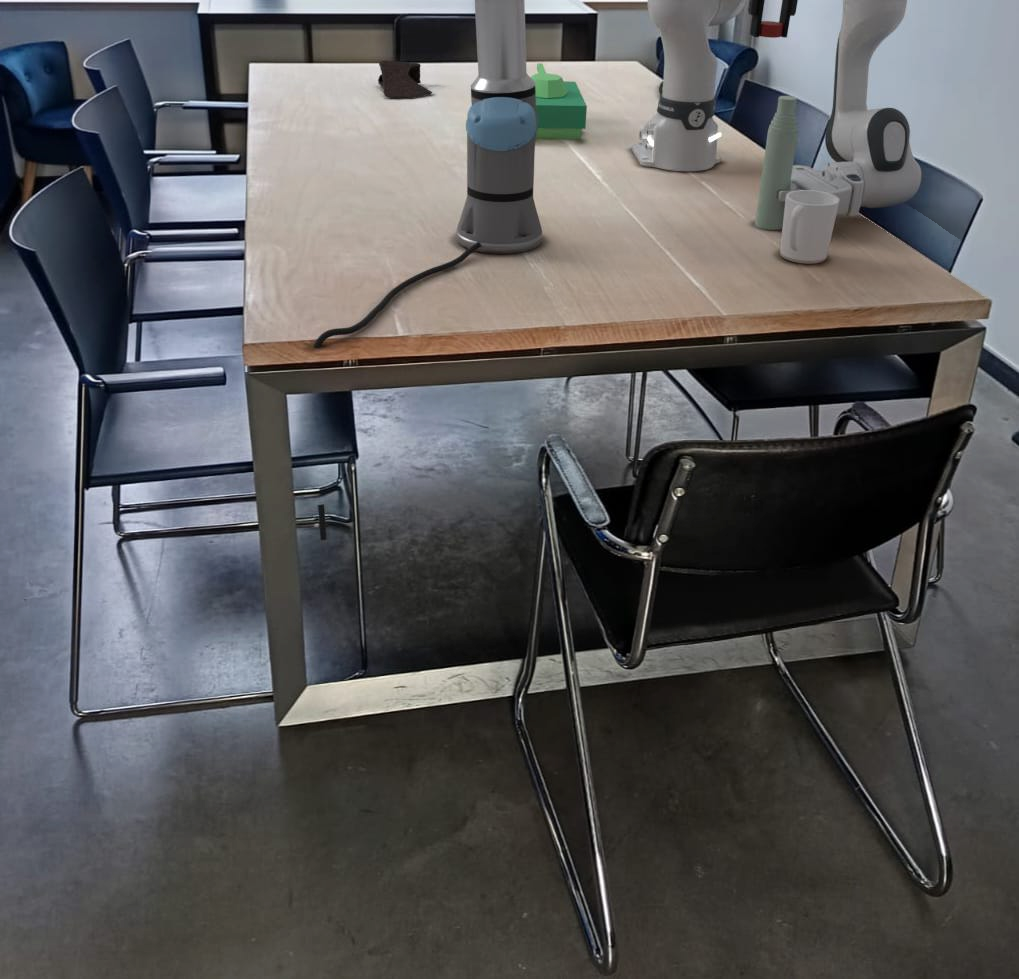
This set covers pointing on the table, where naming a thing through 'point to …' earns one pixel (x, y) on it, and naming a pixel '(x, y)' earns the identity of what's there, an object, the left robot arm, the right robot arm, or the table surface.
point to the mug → (808, 225)
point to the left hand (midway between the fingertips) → (768, 35)
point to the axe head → (401, 79)
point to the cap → (771, 29)
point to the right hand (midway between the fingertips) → (770, 190)
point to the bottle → (777, 164)
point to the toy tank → (558, 107)
